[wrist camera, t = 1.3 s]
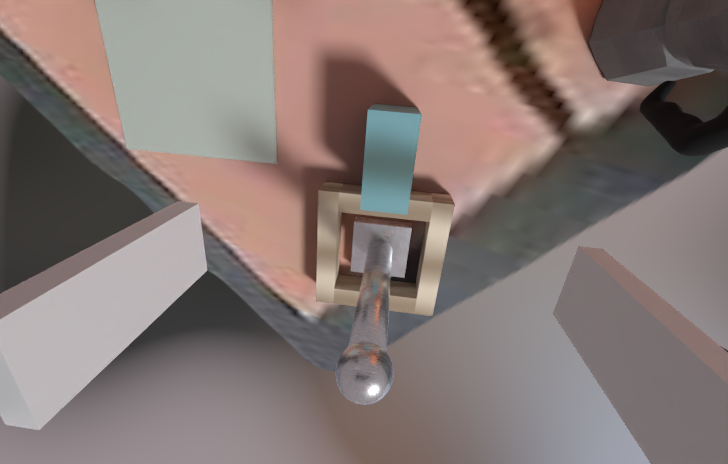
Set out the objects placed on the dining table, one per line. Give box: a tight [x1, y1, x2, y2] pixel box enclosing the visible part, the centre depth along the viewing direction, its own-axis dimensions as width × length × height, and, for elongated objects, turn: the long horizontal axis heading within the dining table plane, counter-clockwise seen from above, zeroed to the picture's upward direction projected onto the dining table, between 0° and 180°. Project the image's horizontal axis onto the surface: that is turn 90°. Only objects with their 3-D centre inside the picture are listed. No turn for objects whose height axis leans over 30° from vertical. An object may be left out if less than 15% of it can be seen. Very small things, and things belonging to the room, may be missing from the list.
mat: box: [95, 0, 277, 164], centre depth 31 cm, size 20×16×1 cm
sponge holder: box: [316, 104, 455, 316], centre depth 32 cm, size 21×13×7 cm, turn 176°
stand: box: [336, 217, 412, 405], centre depth 28 cm, size 6×6×20 cm
